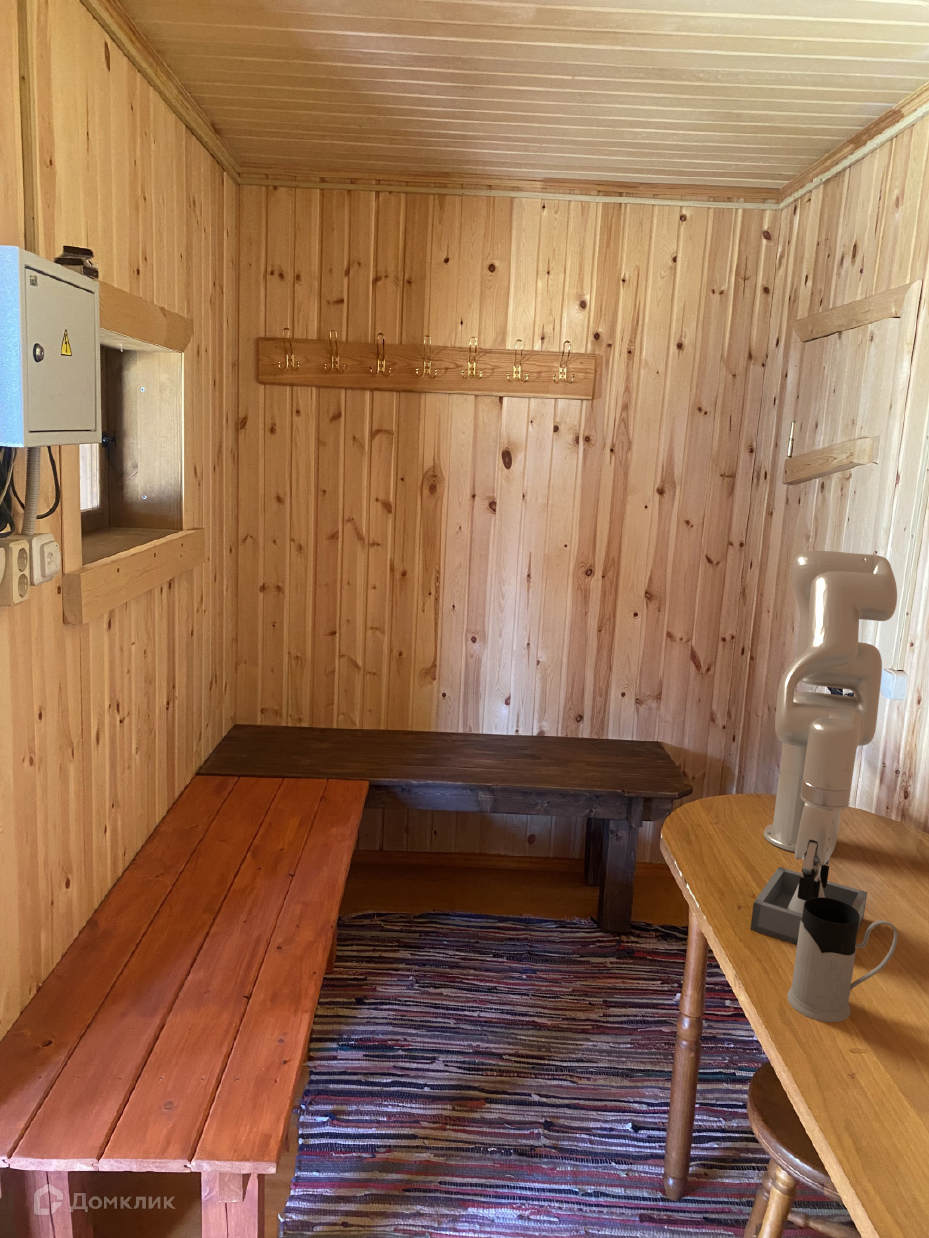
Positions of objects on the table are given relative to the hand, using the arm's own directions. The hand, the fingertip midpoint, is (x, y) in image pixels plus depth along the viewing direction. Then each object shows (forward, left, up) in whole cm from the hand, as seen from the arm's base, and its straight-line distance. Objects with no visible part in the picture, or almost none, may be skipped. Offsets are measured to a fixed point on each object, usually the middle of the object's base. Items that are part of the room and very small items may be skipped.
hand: (812, 891), depth 155 cm
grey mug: (+21, +9, -6) cm, 24 cm away
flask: (0, 0, -5) cm, 5 cm away
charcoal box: (0, 0, -6) cm, 6 cm away
